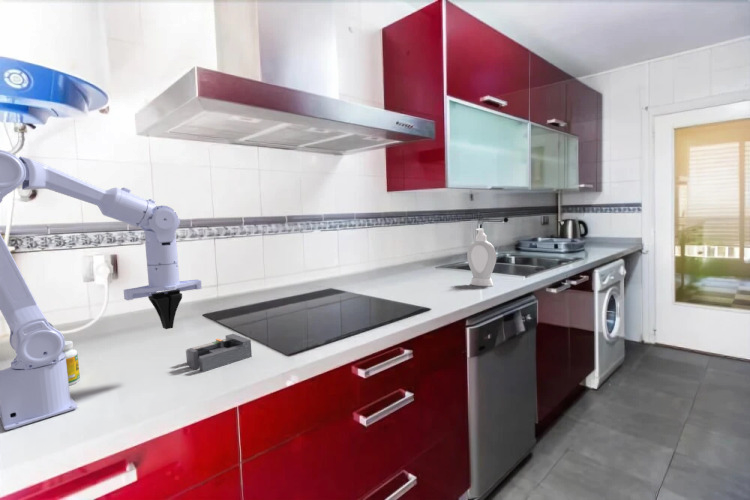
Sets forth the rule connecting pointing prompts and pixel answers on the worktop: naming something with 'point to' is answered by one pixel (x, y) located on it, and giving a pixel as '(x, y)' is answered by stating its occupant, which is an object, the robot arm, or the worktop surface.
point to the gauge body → (223, 352)
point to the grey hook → (193, 355)
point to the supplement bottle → (71, 363)
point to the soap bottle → (481, 260)
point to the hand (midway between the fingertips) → (167, 327)
